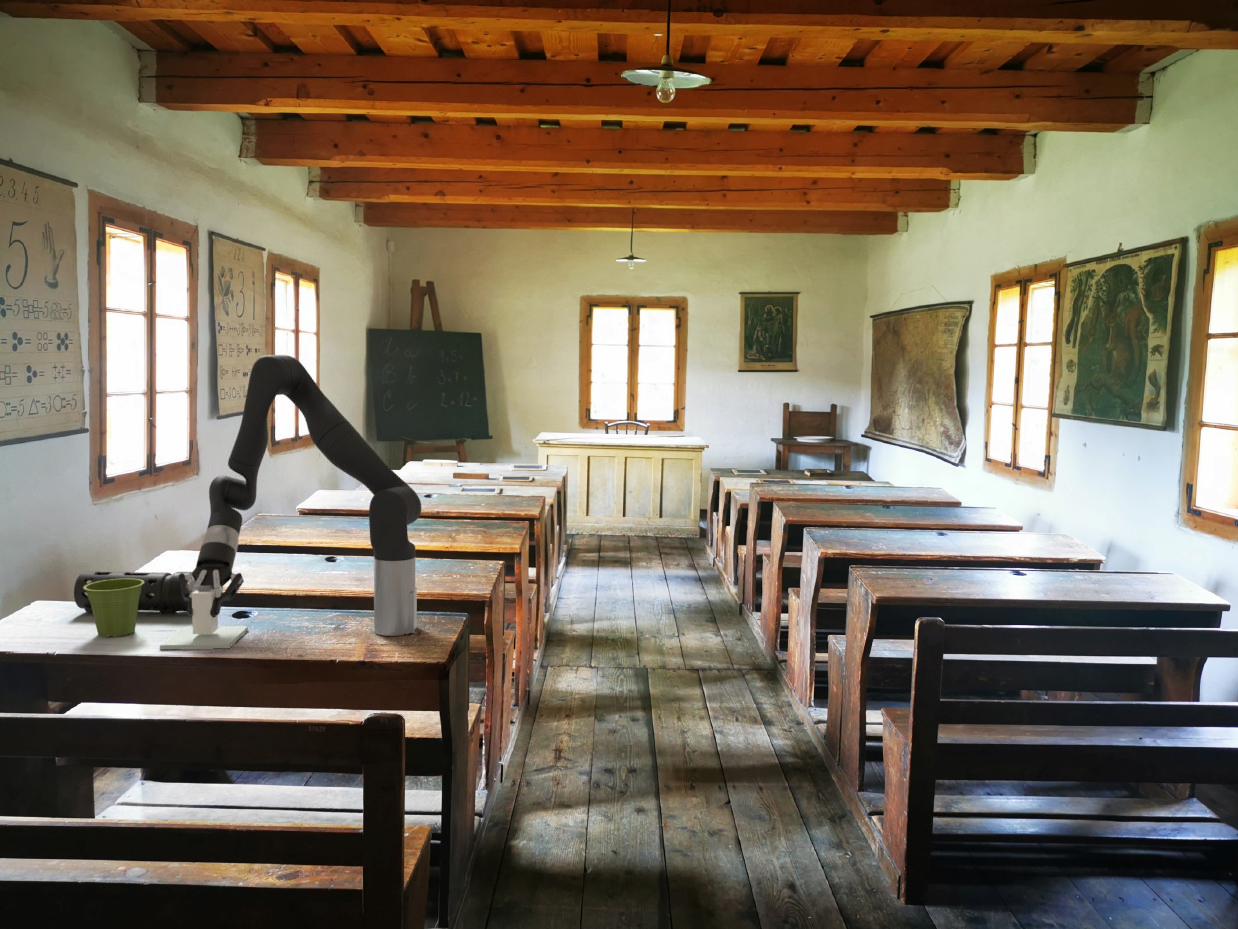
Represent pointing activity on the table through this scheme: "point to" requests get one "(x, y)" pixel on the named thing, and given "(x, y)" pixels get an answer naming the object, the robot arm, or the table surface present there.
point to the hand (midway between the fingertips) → (202, 615)
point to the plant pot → (114, 605)
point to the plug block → (203, 611)
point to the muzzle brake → (155, 592)
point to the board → (204, 638)
